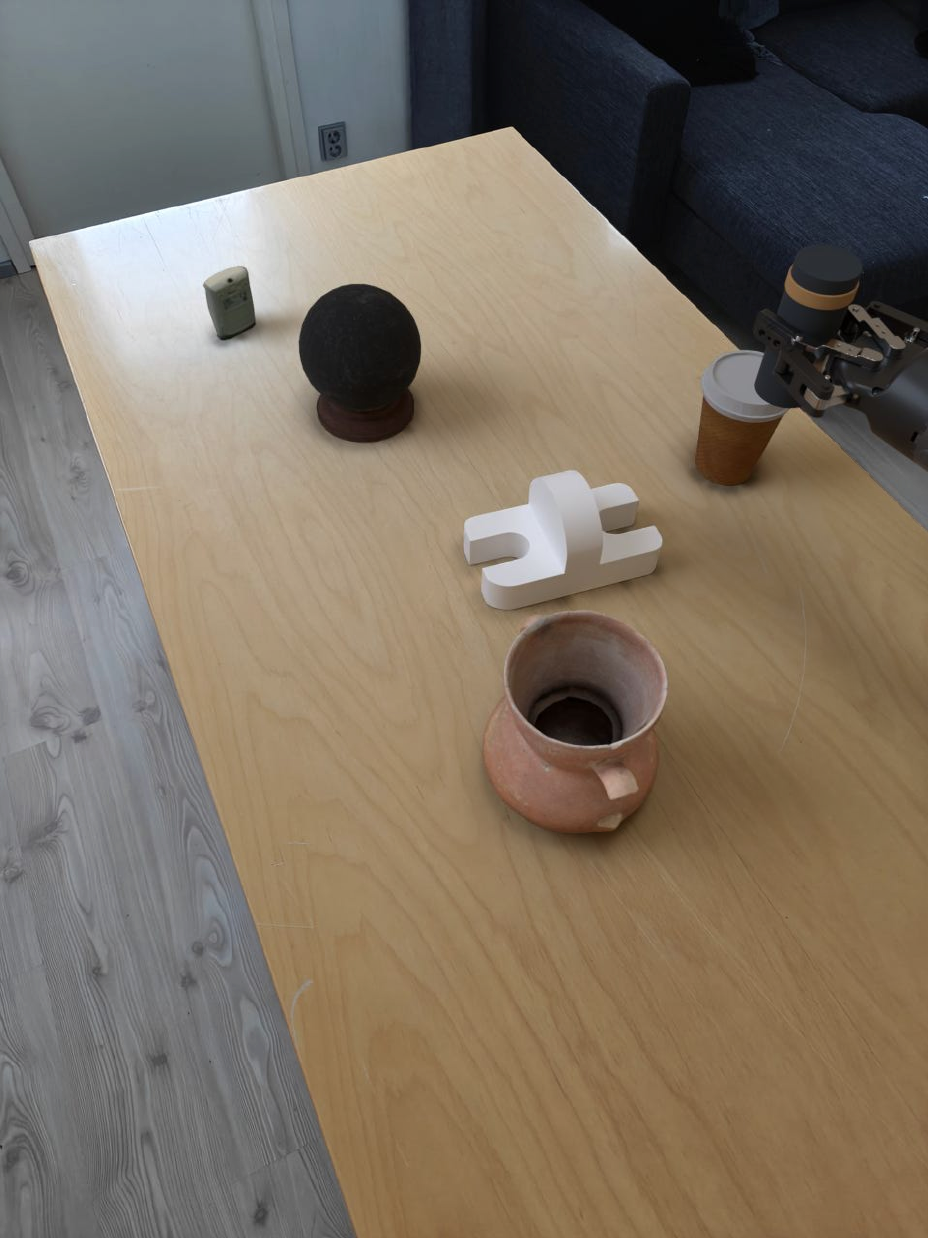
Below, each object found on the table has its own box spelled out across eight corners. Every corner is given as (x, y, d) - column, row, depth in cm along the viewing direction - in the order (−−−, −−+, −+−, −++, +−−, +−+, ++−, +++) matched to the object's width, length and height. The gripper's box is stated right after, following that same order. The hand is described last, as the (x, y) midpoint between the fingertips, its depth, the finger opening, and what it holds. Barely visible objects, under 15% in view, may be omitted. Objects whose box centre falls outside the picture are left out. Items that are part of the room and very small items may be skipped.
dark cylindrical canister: (804, 368, 81) (851, 241, 72) (823, 408, 78) (875, 280, 68) (745, 371, 81) (784, 244, 71) (762, 411, 78) (805, 283, 68)
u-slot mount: (491, 615, 89) (495, 546, 81) (459, 544, 94) (460, 473, 86) (661, 571, 92) (680, 501, 85) (621, 505, 98) (636, 433, 90)
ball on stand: (443, 394, 108) (442, 279, 97) (386, 463, 101) (378, 348, 89) (347, 360, 112) (335, 246, 100) (286, 425, 105) (264, 309, 93)
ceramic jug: (687, 831, 76) (728, 745, 64) (520, 883, 73) (533, 802, 61) (601, 658, 86) (623, 558, 75) (452, 698, 83) (452, 599, 72)
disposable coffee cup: (663, 451, 103) (685, 362, 93) (731, 426, 106) (760, 337, 96) (714, 507, 98) (743, 419, 88) (785, 478, 101) (821, 390, 91)
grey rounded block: (245, 348, 113) (232, 290, 107) (205, 340, 114) (191, 282, 108) (263, 321, 117) (252, 263, 110) (224, 314, 117) (211, 256, 111)
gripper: (1040, 345, 67) (856, 238, 75) (912, 420, 62) (730, 296, 70) (992, 425, 73) (826, 318, 81) (871, 499, 68) (708, 377, 76)
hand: (782, 308), depth 76 cm, fingers closed on dark cylindrical canister, 5 cm apart
